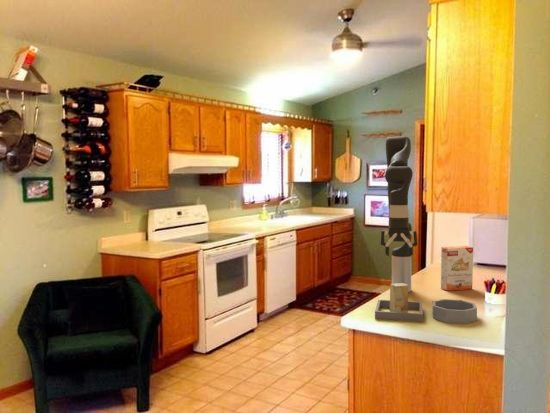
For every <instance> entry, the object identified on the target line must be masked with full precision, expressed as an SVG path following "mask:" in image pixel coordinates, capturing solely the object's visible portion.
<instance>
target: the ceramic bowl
mask: <svg viewBox="0 0 550 413" xmlns="http://www.w3.org/2000/svg"><path fill="white" fill-rule="evenodd" d="M431 307H432V311H431V312H432V313H431V314H432V318H433V319H434V320H436V321H440V322H444V323H446V324H447V323H448V324H458V325H459V324H460V325H465V324H471V323H474V322H477V321H478V307H477V305H476V303H474V302H470V301H467V300H462V299H450V298H449V299H448V298H443V299H442V298H441V299H438V300H434V301H432V306H431Z"/></svg>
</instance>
